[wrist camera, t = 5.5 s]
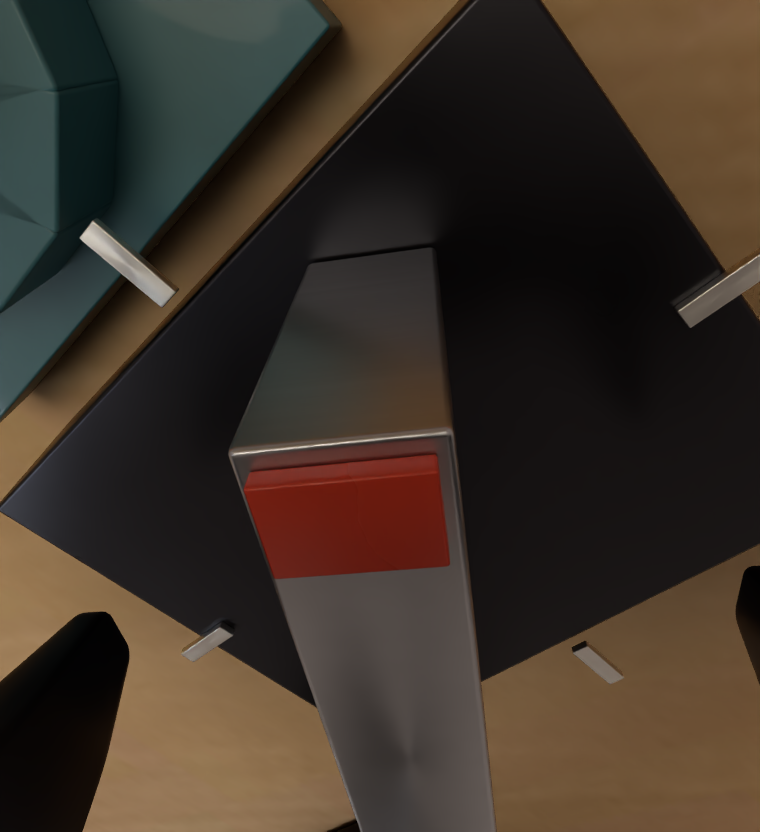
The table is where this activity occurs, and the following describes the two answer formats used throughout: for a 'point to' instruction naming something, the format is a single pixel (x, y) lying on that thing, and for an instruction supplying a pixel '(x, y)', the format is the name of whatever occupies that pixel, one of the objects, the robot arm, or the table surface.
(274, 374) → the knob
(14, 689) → the robot arm
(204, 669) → the table surface
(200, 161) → the control block
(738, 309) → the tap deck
